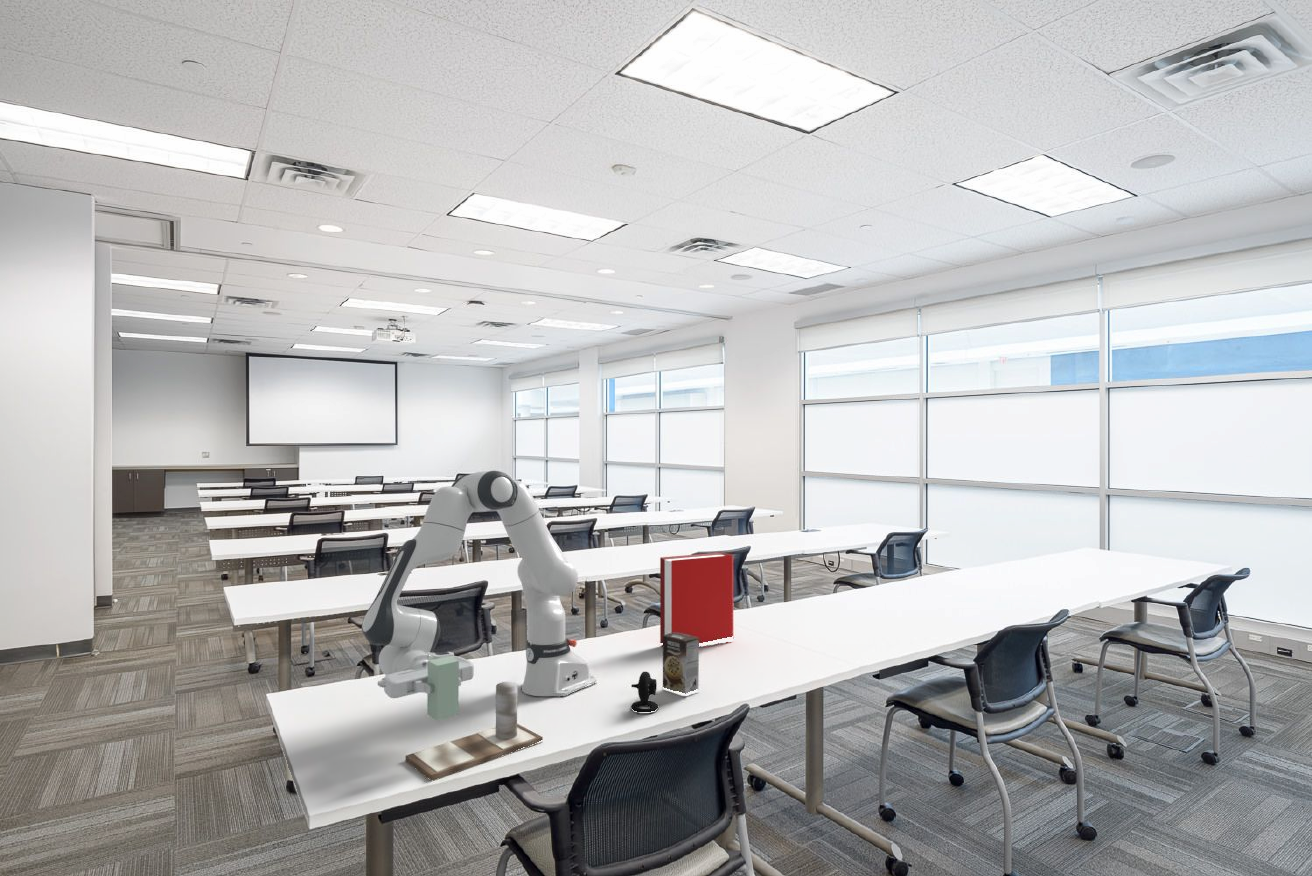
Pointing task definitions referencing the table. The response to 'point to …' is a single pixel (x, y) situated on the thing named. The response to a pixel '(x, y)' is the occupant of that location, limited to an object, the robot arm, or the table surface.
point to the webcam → (645, 693)
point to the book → (697, 595)
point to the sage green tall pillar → (443, 688)
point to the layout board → (478, 741)
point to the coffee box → (680, 662)
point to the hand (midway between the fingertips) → (444, 686)
